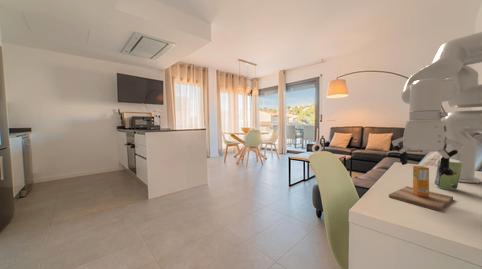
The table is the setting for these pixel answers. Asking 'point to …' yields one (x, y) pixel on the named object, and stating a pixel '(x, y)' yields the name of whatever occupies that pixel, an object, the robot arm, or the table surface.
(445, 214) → the table surface
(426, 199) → the walnut board
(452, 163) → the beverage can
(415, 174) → the supplement box
